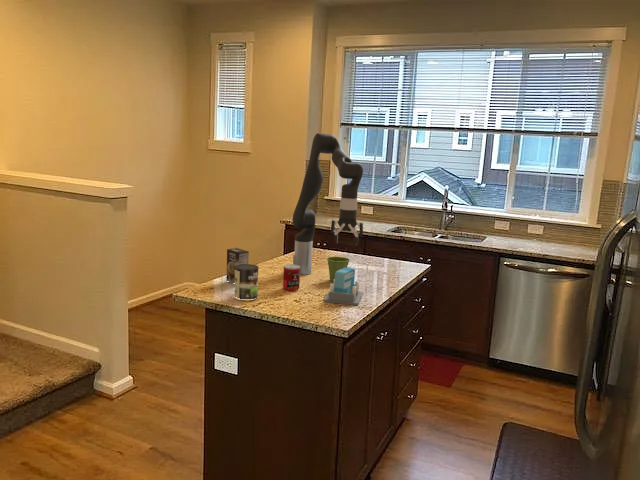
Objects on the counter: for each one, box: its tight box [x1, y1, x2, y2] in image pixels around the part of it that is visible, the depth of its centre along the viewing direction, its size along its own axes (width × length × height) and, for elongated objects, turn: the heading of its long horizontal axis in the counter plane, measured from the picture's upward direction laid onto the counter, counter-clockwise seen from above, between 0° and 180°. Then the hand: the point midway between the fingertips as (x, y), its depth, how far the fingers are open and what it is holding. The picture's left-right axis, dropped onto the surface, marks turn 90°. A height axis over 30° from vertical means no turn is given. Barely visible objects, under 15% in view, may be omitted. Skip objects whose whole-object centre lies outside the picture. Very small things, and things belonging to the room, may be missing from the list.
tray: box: [323, 279, 364, 306], centre depth 249 cm, size 15×18×7 cm
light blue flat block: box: [333, 267, 356, 294], centre depth 248 cm, size 12×4×12 cm, turn 153°
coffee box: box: [225, 247, 250, 284], centre depth 264 cm, size 9×6×16 cm
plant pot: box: [326, 256, 351, 283], centre depth 278 cm, size 12×12×11 cm
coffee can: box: [234, 263, 260, 299], centre depth 241 cm, size 10×10×14 cm
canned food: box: [282, 263, 301, 292], centre depth 259 cm, size 8×8×11 cm
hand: (346, 244), depth 247 cm, fingers open, 8 cm apart
